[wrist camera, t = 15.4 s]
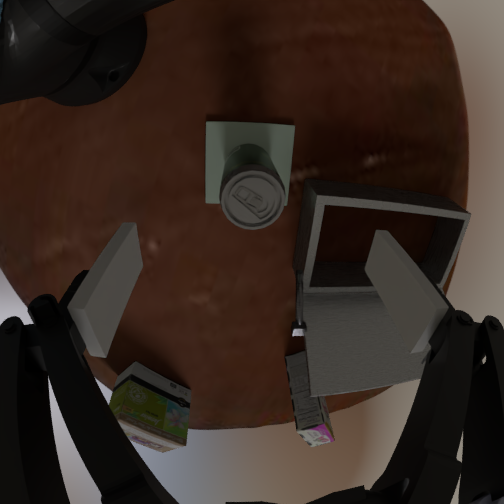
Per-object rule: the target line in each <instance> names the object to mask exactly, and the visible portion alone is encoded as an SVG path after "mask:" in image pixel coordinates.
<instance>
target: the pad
mask: <svg viewBox="0 0 504 504" xmlns="http://www.w3.org/2000/svg"><path fill="white" fill-rule="evenodd" d="M294 131H295V126H294V125H283V124H270V123H254V122H222V121H207V122H206V203H220V200H219V193H220V185H221V180H222V175H223V170H224V165H225V160H226V158H227V156H228V154H229V153H230V152H231V151H232V150H233V149H234V148H235V147H237V146H239V145H242V144H247V143H249V144H256V145H258V146H260V147H262V148H263V149H264V150H265V151H266V152H268V154H269V156H270V158H271V160H272V162H273V164H274V166H275V168H276V170H277V172H278V174H279V176H280V178H281V180H282V182H283V184H284V186H285V193H286V198H285V203H284V206H287V200H288V191H289V182H290V172H291V163H292V152H293V142H294Z"/></svg>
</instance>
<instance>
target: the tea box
mask: <svg viewBox="0 0 504 504" xmlns="http://www.w3.org/2000/svg"><path fill="white" fill-rule="evenodd" d="M190 401H191V390H189V389H187V388H185V387H183V386H180V385H178V384H176V383H174V382H173V381H171V380H169V379H166V378H164V377H163V376H161V375H159V374H157V373H155V372H154V371H152V370H150V369H148V368H147V367H145V366H143V365H142V364H140V363H138V362H137V361H135V362H134V363H133V364H132V365H130V366H129V367H128V368H127V369H126V370H125V371H123V372H122V373H121V374H120V375H119V376H118V377H117V380H116V383H115V386H114V389H113V393H112V396H111V400H110V403H109V407H110V409H111V410H112V412H113V414H114V416H115V417H116V419H117V421H118V422H119V424H120V426H121V427H122V429H123V431H124V432H125V434H126V435H127V437H128V439H129V440H131V441H133V442H136V443H138V444H141V445H143V446H146V447H149V448H151V449H154V450H157V451H160V452H166V451H170V450H173V449H177V448H180V447H183V446H186V442H187V432H188V421H189V412H190Z"/></svg>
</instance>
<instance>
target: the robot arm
mask: <svg viewBox="0 0 504 504" xmlns="http://www.w3.org/2000/svg"><path fill="white" fill-rule="evenodd" d="M172 1H174V0H0V105H1V104H5V103H10V102H15V101H19V100H25V99H30V98H36V97H41V96H43V97H45V98H47V99H49V100H51V101H54V102H56V103H58V104H61V105H65V106H82V105H89V104H93V103H96V102H99V101H101V100H103V99H105V98H107V97H109V96H111V95H112V94H113V93H115V92H116V91H117V90H119V89H120V88H121V87H122V86H123V85H124V84H125V83H126V82H127V81H128V79H129V78H130V77H131V76H132V74H133V73H134V71H135V70H136V68H137V66H138V65H139V63H140V61H141V58H142V56H143V53H144V50H145V46H146V40H147V28H146V23H145V19H144V17H143V15H142V14H143V13H145V12H147V11H149V10H152V9H154V8H156V7H159V6H161V5H164V4H166V3H169V2H172ZM142 267H143V263H142V258H141V252H140V246H139V240H138V233H137V227H136V223H122V225H121V226H120V227H119V229H118V230H117V232H116V233H115V234H114V236H113V237H112V239H111V240H110V241H109V243H108V244H107V246H106V247H105V248H104V250H103V251H102V253H101V254H100V256H99V257H98V259H97V260H96V262H95V263H94V265H93V266H92V268H91V269H90V270H83V271H82V272H81V273H79V274H78V275H77V276H76V277H75V278H74V280H73V282H72V283H71V285H70V286H69V288H68V289H67V291H66V292H65V294H64V295H63V297H62V299H61V300H60V302H59V304H58V303H57V300H56V298H55V297H54V296H53V295H51V294H44V295H40V296H38V297H36V298H35V299H34V300H33V301H32V302H31V303H30V304H29V306H28V313H29V315H30V317H31V319H32V321H33V323H34V324H29V325H24V324H23V322H22V320H21V319H20V318H19V317H16V316H13V317H10V318H7V319H6V320H5V321H4V322H3V323H2V324H1V325H0V504H70V501H69V498H68V495H67V492H66V488H65V484H64V481H63V477H62V473H61V469H60V464H59V460H58V455H57V450H56V444H55V439H54V433H53V426H52V418H51V410H50V399H49V385H48V377H49V380H50V383H51V386H52V389H53V392H54V395H55V398H56V401H57V403H58V406H59V409H60V411H61V414H62V416H63V419H64V421H65V424H66V426H67V428H68V431H69V433H70V435H71V438H72V440H73V442H74V444H75V446H76V448H77V450H78V452H79V454H80V456H81V458H82V460H83V462H84V464H85V466H86V468H87V470H88V471H89V473H90V475H91V477H92V478H93V480H94V482H95V484H96V485H97V487H98V489H99V490H100V492H101V495H102V497H101V502H102V504H179V503H178V502H177V501H176V500H175V499H174V498H173V497H172V496H171V495H170V494H169V493H168V492H167V491H166V489H165V488H164V487H163V486H162V485H161V483H160V482H159V481H158V480H157V478H156V477H155V476H154V474H153V473H152V472H151V470H150V469H149V468H148V466H147V465H146V464H145V462H144V461H143V460H142V458H141V457H140V455H139V454H138V452H137V451H136V449H135V448H134V446H133V445H132V443H131V442H130V440H129V439H128V437H127V435H126V434H125V432H124V431H123V429H122V427H121V426H120V424H119V422H118V421H117V419H116V417H115V416H114V414H113V412H112V410H111V409H110V407H109V405H108V403H107V401H106V399H105V398H104V396H103V394H102V392H101V390H100V388H99V386H98V384H97V382H96V380H95V378H94V376H93V374H92V372H91V369H90V367H89V365H88V363H87V361H86V358H85V357H84V355H83V353H84V350H85V348H87V349H88V351H89V353H90V355H91V356H97V357H103V358H106V357H107V354H108V351H109V349H110V346H111V343H112V340H113V338H114V335H115V332H116V330H117V327H118V324H119V322H120V319H121V317H122V314H123V312H124V309H125V307H126V304H127V302H128V299H129V297H130V295H131V292H132V290H133V288H134V285H135V283H136V281H137V278H138V276H139V274H140V272H141V269H142ZM364 270H365V272H366V274H367V275H368V277H369V279H370V280H371V282H372V284H373V285H374V287H375V289H376V291H377V292H378V294H379V296H380V298H381V299H382V301H383V303H384V305H385V307H386V308H387V310H388V312H389V314H390V316H391V317H392V319H393V321H394V323H395V325H396V327H397V329H398V331H399V332H400V334H401V336H402V338H403V340H404V342H405V344H406V346H407V348H408V350H409V352H410V353H416V352H421V351H423V350H424V348H425V346H426V345H427V343H428V342H429V344H430V346H431V349H430V350H429V352H428V353H427V355H426V356H425V357H424V359H423V360H422V362H421V364H423V363H424V362H425V361H426V362H425V366H424V370H423V373H422V377H421V380H420V384H419V387H418V390H417V393H416V396H415V399H414V402H413V405H412V408H411V411H410V414H409V416H408V419H407V422H406V425H405V427H404V429H403V432H402V434H401V437H400V439H399V442H398V444H397V446H396V448H395V451H394V453H393V455H392V457H391V460H390V462H389V463H388V465H387V468H386V470H385V471H384V473H383V474H382V475H381V476H380V477H379V479H378V480H377V481H376V482H375V483H374V485H373V486H372V488H371V489H370V490H365V489H364V485H363V486H359V487H355V488H351V489H346V490H342V491H338V492H333V493H331V494H328V495H326V496H324V497H321V498H319V499H316V500H314V501H311V502H309V503H306V504H450V503H451V500H452V498H453V495H454V492H455V489H456V486H457V483H458V480H459V477H460V474H461V478H460V487H459V503H458V504H504V329H503V326H502V324H501V323H500V322H499V320H498V319H496V318H495V317H493V316H489V315H488V316H486V317H485V318H484V320H483V321H482V323H477V322H474V321H473V319H472V318H471V317H470V316H469V314H467V313H466V312H463V311H461V310H455V309H454V308H453V306H452V305H451V303H450V302H449V301H448V299H447V298H446V297H445V295H444V294H442V291H441V290H440V289H439V288H438V286H437V285H436V284H435V282H434V281H433V280H432V279H431V278H429V277H428V276H427V275H424V274H423V272H422V271H421V270H420V269H419V267H418V266H417V265H416V264H415V262H414V261H413V260H412V259H411V258H410V256H409V255H408V254H407V253H406V252H405V250H404V249H403V248H402V247H401V246H400V245H399V243H398V242H397V241H396V240H395V239H394V238H393V237H392V235H391V234H390V233H389V232H388V231H387V230H376V232H375V236H374V239H373V243H372V246H371V249H370V253H369V256H368V259H367V263H366V266H365V269H364ZM485 356H486V362H485V363H484V364H483V362H482V359H483V358H484V357H485ZM462 432H463V455H462V463H461V462H460V461H458V460H457V458H456V457H457V452H458V448H459V444H460V440H461V436H462ZM226 504H276V503H268V502H262V501H260V502H226Z"/></svg>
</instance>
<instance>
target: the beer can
mask: <svg viewBox="0 0 504 504" xmlns="http://www.w3.org/2000/svg"><path fill="white" fill-rule="evenodd" d="M285 198H286V193H285V186H284V184H283V182H282V180H281V178H280V176H279V174H278V172H277V170H276V168H275V166H274V164H273V162H272V160H271V158H270V156H269V154H268V152H266V151H265V150H264V149H263V148H262V147H260V146H258V145H256V144H249V143H247V144H242V145H239V146H237V147H235V148H234V149H233V150H232V151H231V152H230V153H229V154H228V156H227V158H226V160H225V165H224V170H223V175H222V180H221V185H220V193H219V200H220V205H221V208H222V209H223V212H224V213H225V215H226V217H227V218H228V219H229V220H230V221H231V222H232V223H233V224H235V225H236V226H239V227H241V228H244V229H252V230H255V229H260V228H264V227H266V226H268V225H270V224H272V223H273V222H274V221H275V220H276V219H277V218H278V217H279V216H280V214H281V212H282V211H283V208H284V203H285Z"/></svg>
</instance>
